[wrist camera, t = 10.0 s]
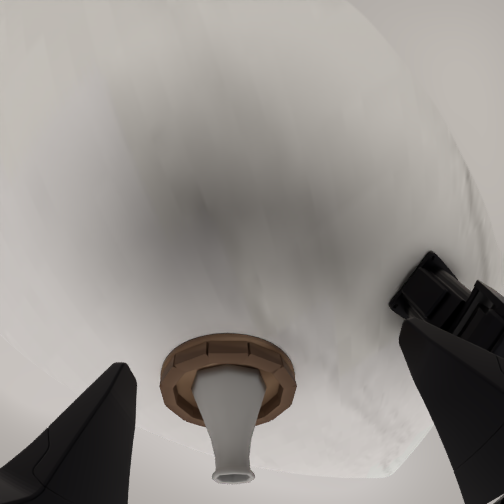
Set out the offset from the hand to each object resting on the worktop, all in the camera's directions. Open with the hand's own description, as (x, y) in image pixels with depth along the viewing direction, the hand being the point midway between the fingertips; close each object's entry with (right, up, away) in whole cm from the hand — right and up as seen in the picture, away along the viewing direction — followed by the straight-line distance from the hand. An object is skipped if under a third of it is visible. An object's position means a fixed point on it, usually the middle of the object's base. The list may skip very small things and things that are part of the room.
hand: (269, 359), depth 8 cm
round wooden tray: (-3, -9, +17) cm, 20 cm away
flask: (-3, -10, +17) cm, 19 cm away
